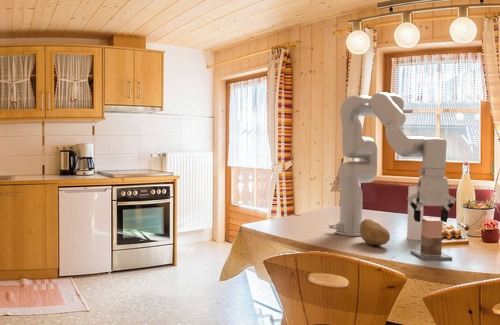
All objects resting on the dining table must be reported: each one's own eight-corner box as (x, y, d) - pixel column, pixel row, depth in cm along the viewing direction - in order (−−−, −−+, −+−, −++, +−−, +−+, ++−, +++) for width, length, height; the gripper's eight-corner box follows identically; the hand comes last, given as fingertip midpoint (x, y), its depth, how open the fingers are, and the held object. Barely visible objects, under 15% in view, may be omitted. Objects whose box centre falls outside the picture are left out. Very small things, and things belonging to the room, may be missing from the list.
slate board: (423, 260, 148) (424, 257, 148) (410, 253, 158) (410, 250, 158) (452, 260, 149) (452, 257, 149) (437, 252, 159) (437, 249, 159)
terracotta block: (427, 238, 151) (428, 220, 151) (421, 235, 156) (421, 218, 156) (441, 238, 151) (442, 220, 151) (435, 235, 156) (435, 218, 156)
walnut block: (427, 255, 151) (427, 238, 151) (420, 251, 156) (421, 235, 156) (441, 255, 152) (441, 238, 151) (433, 251, 156) (434, 235, 156)
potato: (371, 250, 162) (372, 225, 162) (354, 240, 177) (355, 218, 177) (393, 249, 164) (394, 224, 163) (374, 240, 179) (375, 217, 179)
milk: (407, 236, 187) (408, 185, 186) (422, 238, 185) (423, 186, 184) (406, 239, 182) (408, 186, 181) (422, 240, 179) (424, 187, 179)
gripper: (414, 173, 149) (411, 223, 150) (462, 174, 151) (459, 223, 152) (404, 171, 157) (402, 218, 158) (451, 172, 158) (448, 219, 159)
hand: (430, 221), depth 155 cm, fingers open, 9 cm apart
